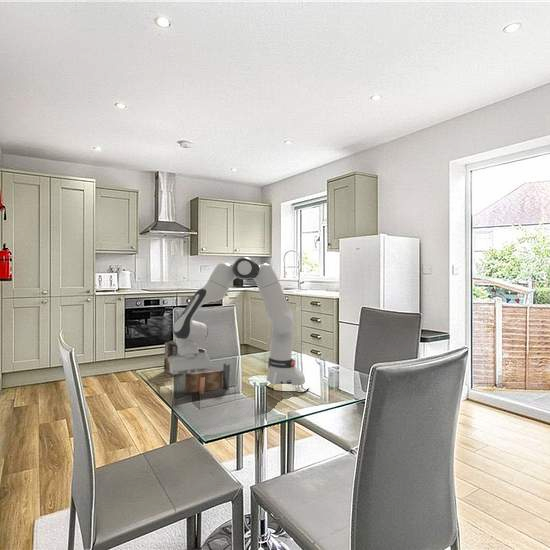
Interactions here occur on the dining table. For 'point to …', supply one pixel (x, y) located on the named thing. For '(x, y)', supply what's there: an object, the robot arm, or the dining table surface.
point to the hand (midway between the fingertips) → (194, 379)
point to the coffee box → (169, 354)
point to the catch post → (202, 385)
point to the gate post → (226, 376)
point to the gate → (211, 380)
